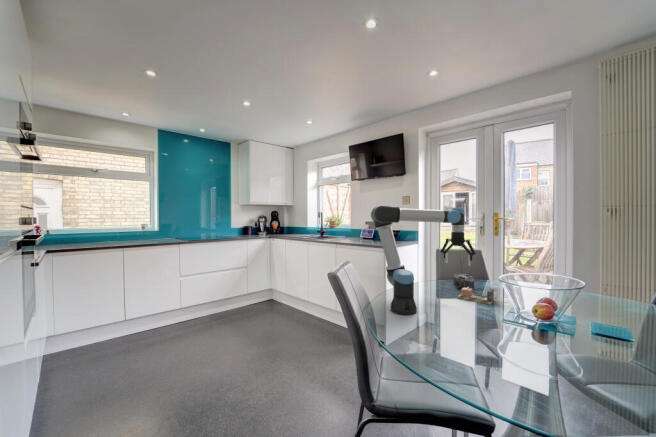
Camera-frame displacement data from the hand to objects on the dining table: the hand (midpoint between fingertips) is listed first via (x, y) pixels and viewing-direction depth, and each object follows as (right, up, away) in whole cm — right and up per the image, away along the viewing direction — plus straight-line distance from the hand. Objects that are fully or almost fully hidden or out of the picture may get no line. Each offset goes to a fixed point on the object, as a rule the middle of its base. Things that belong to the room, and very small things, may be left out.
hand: (457, 264), depth 170 cm
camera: (+13, -21, +22) cm, 33 cm away
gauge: (+5, -20, -1) cm, 20 cm away
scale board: (+9, -21, -5) cm, 23 cm away
